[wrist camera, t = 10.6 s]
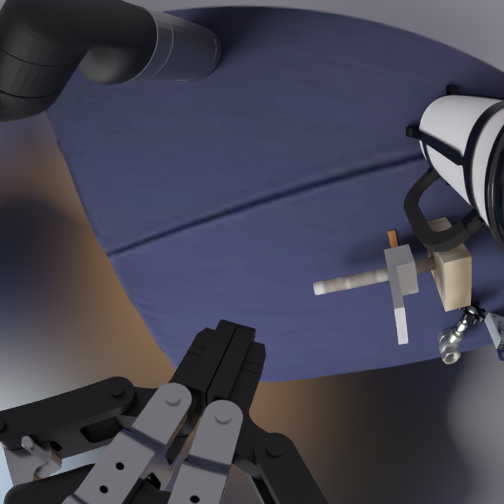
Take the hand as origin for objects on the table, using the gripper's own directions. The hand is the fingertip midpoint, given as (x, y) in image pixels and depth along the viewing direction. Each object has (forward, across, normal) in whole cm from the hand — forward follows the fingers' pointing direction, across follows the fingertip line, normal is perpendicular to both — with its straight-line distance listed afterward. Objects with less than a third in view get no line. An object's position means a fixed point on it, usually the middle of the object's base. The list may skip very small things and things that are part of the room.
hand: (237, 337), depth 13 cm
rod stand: (+35, -15, +12) cm, 40 cm away
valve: (+35, -35, +23) cm, 54 cm away
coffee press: (+35, -19, -8) cm, 41 cm away
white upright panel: (+32, -17, +12) cm, 38 cm away
